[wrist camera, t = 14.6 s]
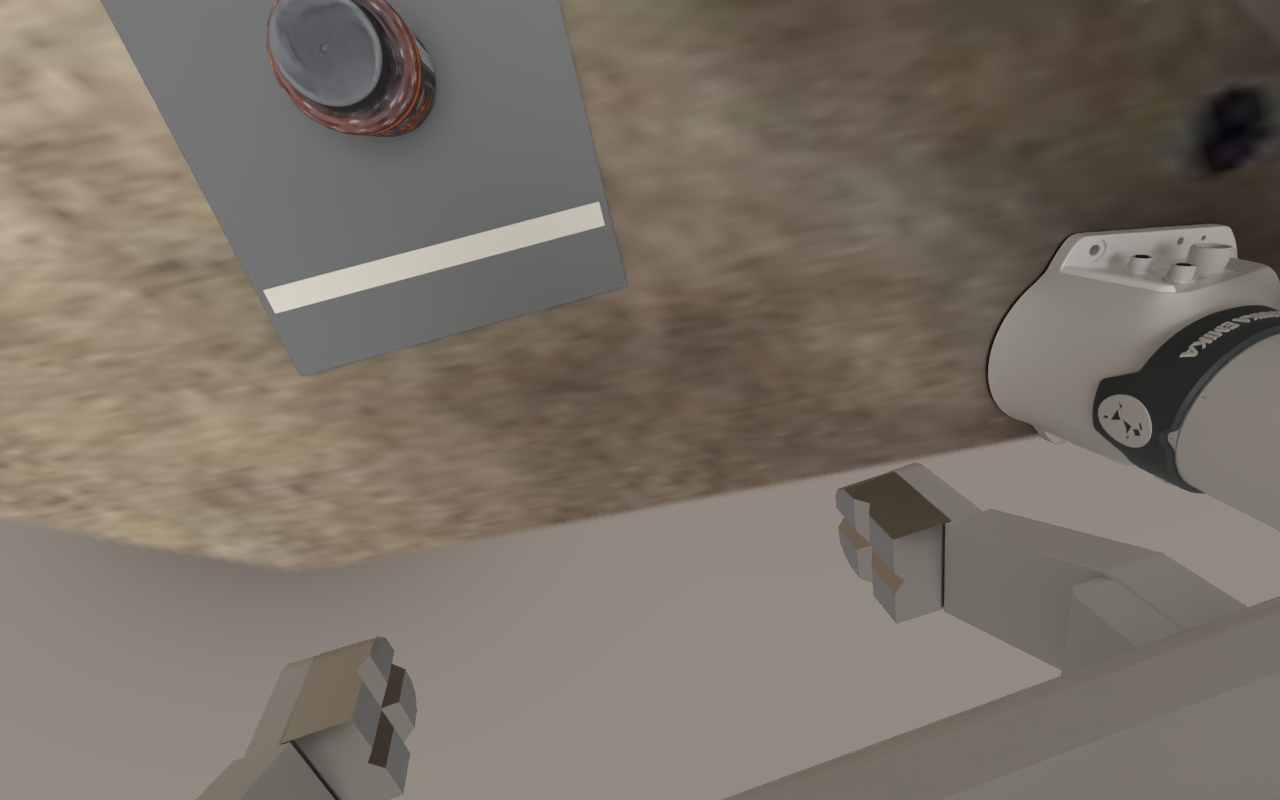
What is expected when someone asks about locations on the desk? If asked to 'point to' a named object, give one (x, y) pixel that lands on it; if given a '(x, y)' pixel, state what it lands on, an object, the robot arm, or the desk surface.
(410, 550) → the desk surface
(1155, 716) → the robot arm
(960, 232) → the desk surface
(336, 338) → the mat
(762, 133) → the desk surface
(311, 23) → the supplement bottle
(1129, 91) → the desk surface
